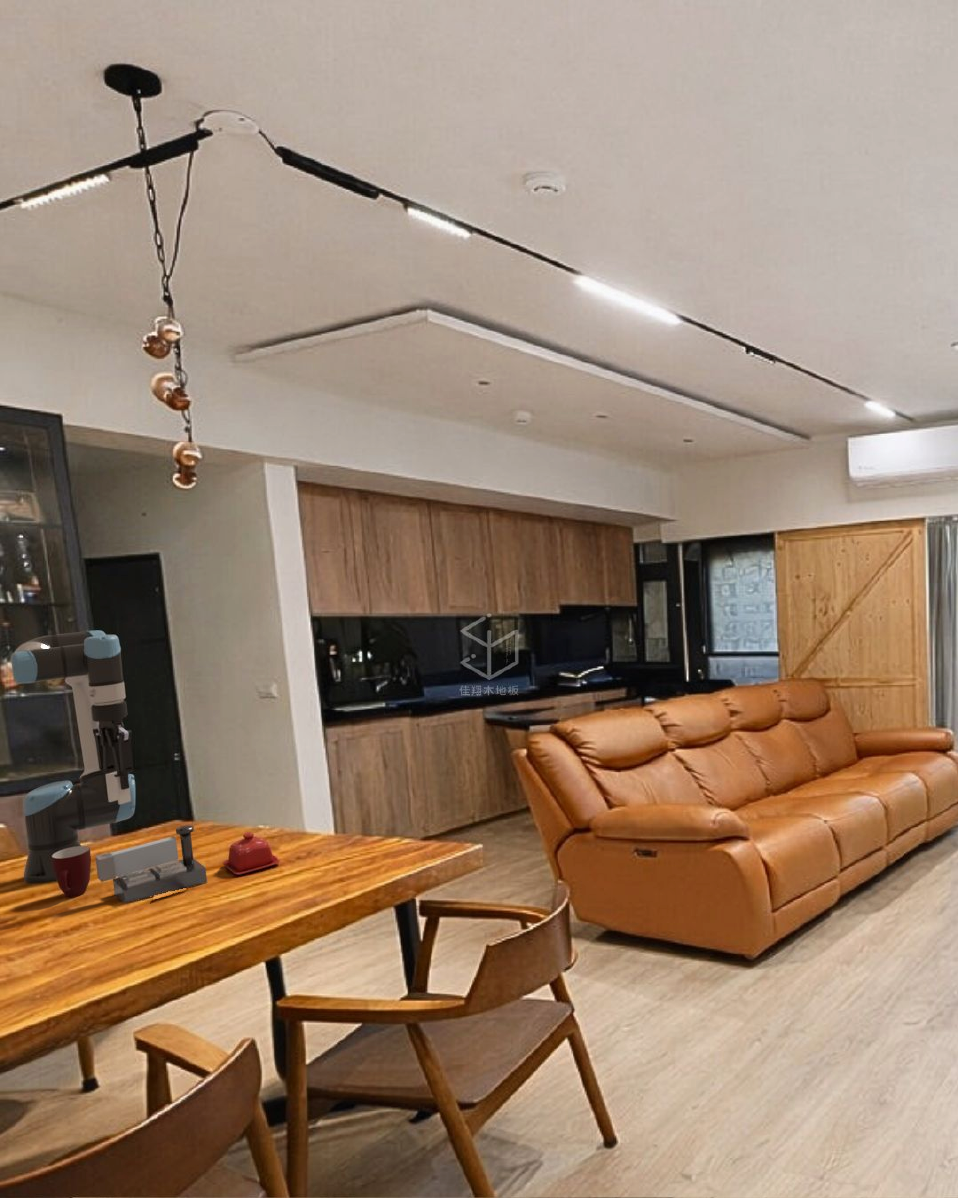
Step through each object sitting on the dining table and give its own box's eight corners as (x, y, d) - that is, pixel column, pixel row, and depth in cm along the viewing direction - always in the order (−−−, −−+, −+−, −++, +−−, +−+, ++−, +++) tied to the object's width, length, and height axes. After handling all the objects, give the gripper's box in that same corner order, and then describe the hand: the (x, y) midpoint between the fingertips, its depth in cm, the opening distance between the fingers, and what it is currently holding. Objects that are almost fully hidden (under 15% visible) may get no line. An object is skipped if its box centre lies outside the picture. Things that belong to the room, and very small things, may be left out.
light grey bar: (174, 856, 202) (172, 835, 202) (179, 860, 199) (177, 839, 199) (97, 877, 192) (95, 856, 192) (101, 882, 189) (98, 860, 189)
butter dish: (283, 866, 207) (279, 832, 206) (236, 880, 201) (232, 844, 200) (266, 854, 216) (262, 821, 216) (220, 867, 210) (217, 833, 209)
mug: (88, 902, 194) (82, 858, 194) (49, 908, 193) (44, 864, 192) (98, 884, 205) (93, 843, 204) (61, 890, 203) (56, 849, 202)
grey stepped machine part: (114, 896, 196) (108, 843, 195) (193, 873, 207) (187, 822, 206) (126, 909, 188) (119, 853, 187) (207, 884, 199) (201, 831, 198)
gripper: (74, 703, 201) (86, 801, 202) (111, 707, 190) (123, 810, 192) (105, 697, 206) (116, 792, 208) (142, 700, 196) (154, 801, 197)
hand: (119, 801), depth 200 cm, fingers open, 4 cm apart
